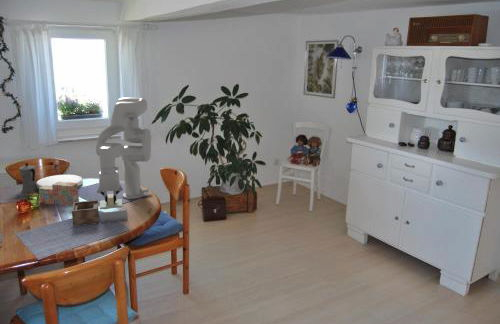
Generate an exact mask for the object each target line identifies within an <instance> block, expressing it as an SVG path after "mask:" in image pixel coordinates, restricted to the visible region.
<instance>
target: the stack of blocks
mask: <svg viewBox="0 0 500 324" xmlns="http://www.w3.org/2000/svg"><path fill="white" fill-rule="evenodd" d="M78 187H79V186H78V184H77V183H72V182H56V183H55V184H52V186H48V185H45V186H43V187H41V188H39V187H38V196H39V201H40V204H46V205H59V206H69V207H73V204H74V202H80V198H79V197H80V196H79V188H78Z"/></svg>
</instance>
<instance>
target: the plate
mask: <svg viewBox="0 0 500 324" xmlns="http://www.w3.org/2000/svg"><path fill="white" fill-rule="evenodd" d="M83 181H84V180H83V177H82V176H79V175H76V174H56V175H50V176H46V177H43V178H41V179H39V180H37V181H36V185H37V188H38V189H39V188H41V187H43V186H45V185H48V186H52V184H55V183H56V182H72V183H77V184H78V187H79V186H81V185H82V184H83V183H84V182H83Z"/></svg>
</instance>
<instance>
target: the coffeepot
mask: <svg viewBox="0 0 500 324" xmlns="http://www.w3.org/2000/svg"><path fill="white" fill-rule="evenodd" d="M18 169H19V172H20V175H21V179H22V192H23V193H26V192H27V193H34V192H37V191H39V187H37V181H36V178H35V177H36V166H35V165H29V163H28V162H25V163H24V165H23V166H20V167H19V168H18Z"/></svg>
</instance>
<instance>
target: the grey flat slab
mask: <svg viewBox="0 0 500 324" xmlns="http://www.w3.org/2000/svg"><path fill="white" fill-rule="evenodd" d="M127 214H128V213H127V209H125V210H115V211H113V210H112V211H106V212H105V211H104V212H101V220H100V221H101V222H100V223H101V224H107V223H108V222H110V223H118V222H126V221H128V215H127Z"/></svg>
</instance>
